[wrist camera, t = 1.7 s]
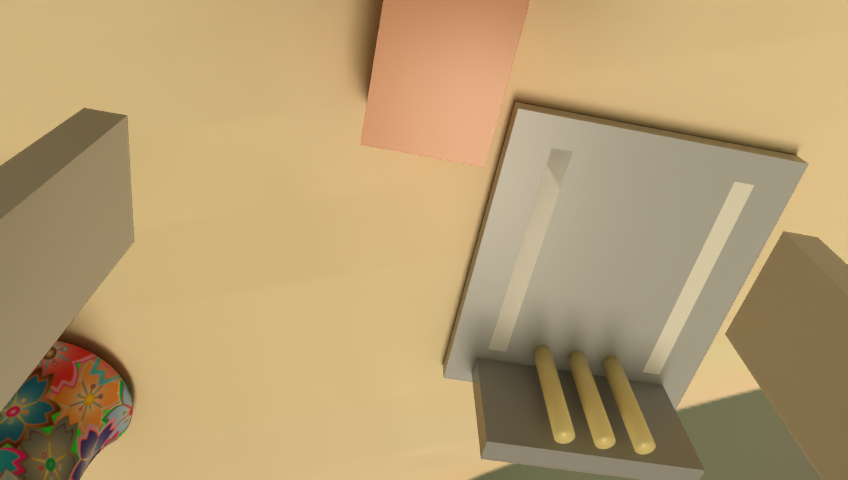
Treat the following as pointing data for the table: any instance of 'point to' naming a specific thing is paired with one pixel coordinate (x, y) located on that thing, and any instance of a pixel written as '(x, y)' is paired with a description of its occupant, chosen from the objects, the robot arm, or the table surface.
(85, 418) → the mug
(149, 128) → the table surface
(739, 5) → the table surface
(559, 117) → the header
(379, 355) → the table surface
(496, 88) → the orange block
